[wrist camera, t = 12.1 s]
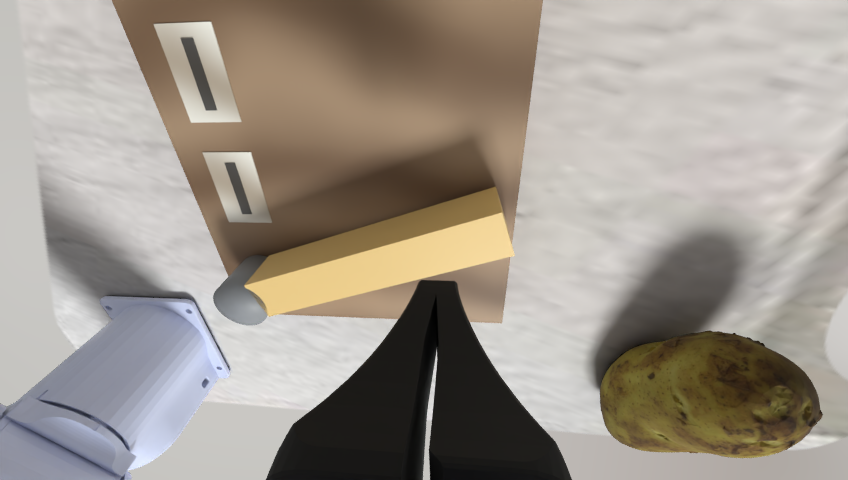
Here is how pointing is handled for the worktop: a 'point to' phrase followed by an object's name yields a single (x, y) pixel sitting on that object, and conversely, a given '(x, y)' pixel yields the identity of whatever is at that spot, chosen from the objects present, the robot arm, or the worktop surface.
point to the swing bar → (368, 258)
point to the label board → (341, 119)
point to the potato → (708, 397)
